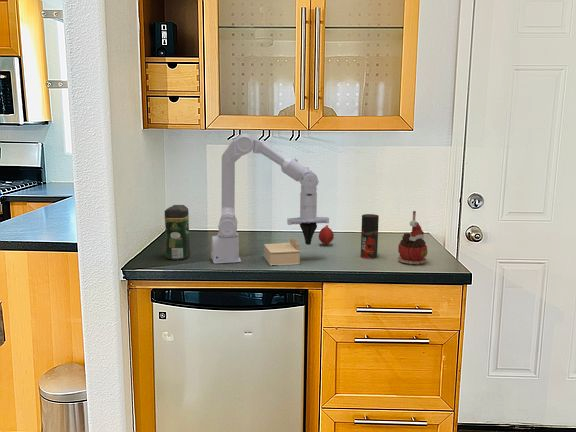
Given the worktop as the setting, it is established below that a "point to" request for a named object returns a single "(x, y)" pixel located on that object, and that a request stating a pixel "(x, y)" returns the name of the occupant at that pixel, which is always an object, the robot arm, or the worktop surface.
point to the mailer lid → (283, 247)
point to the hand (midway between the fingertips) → (307, 244)
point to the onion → (326, 235)
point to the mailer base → (282, 258)
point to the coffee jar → (177, 232)
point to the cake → (413, 245)
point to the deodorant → (369, 236)
